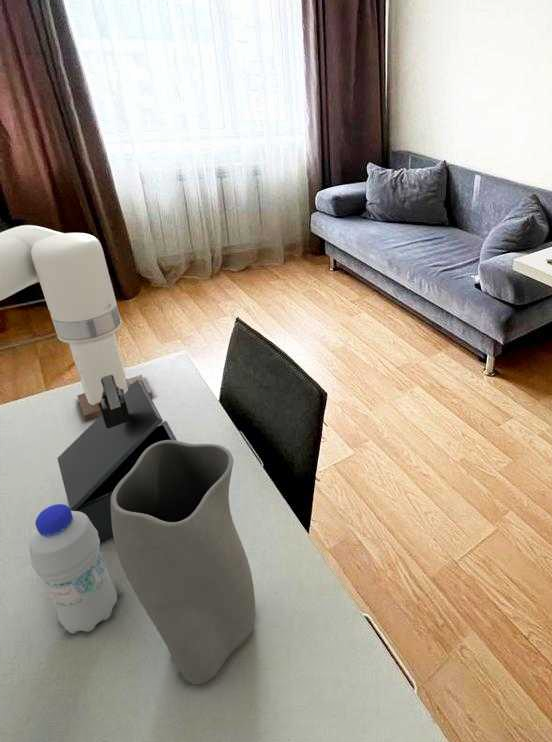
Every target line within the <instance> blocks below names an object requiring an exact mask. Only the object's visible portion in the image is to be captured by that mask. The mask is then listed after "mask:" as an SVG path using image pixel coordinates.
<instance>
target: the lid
mask: <svg viewBox="0 0 552 742" xmlns="http://www.w3.org/2000/svg"><path fill="white" fill-rule="evenodd" d="M122 395H123V397H124V399H125V402H126V405H127V409H128V412H129V416H130V420H129V421H128V422H125V423H122V424H120V425H117V426H114V427H112V428H106V425H105V422H104V419H103V416H102V415H101V416H100V417H97V418H96V419H95V420H94V422H92V423H91V424H90V425H89V426H88V427H87V428H86V429H85V430H84V431H83V432H82V433H81V434H80V435H79V436H78V437H77V438H76V439H75V440H74V441H73V442H72V443H70V445H69V446H68V447H67V448H65V450H64V451H63V452H62V453H61V454H60V455H59V456H58V457H57V458H56V460H57V463H58V468H59V471H60V475H61V479H62V482H63V486H64V490H65V491H64V492H65V495H66V499H67V503H68V507H69V508H70V510H71V511H76V510H77V508H78V507H79V506H80V505H81V504H82V503H83V502H84V501H85V500H86V499H87V498H88V497H89V496H90V495H91V494H92V493H93V492H94V491H95V490H96V489H97V488H98V487H99V486H100V485H101V484H102V483H103V482H104V481H105V480H106V479H107V478H108V477H109V476H110V475H111V474H112V473H113V471H114V470H115V469H116V468H117V467H118V466H119V465H120V464H121V463H122V462H123V461H124V460H125V459H126V458H127V457H128V456H129V455H130V454H131V453H132V452H133V451H134V450H135V449H136V448H137V447H138V446H139V445H140V444H141V443H142V442H143V441H144V440H145V439H146V438H147V437H148V436H149V434H150V433H151V432H152V431H153V430H154V429H155V428H156V427H157V426H158V425H159V424H160V423H161V422H164V420H163V418H162V416H161V414H160V412H159V410H158V408H157V407H156V405H155V403H154V401H153V398H151V397H150V395H149V393H148V391H147V390H146V388H145V386H144V384H143V382H142V381H141V380H140V379H137V380H136V381H135V382H134V383H133V384H132V385H131V386H130V387H129V388H128V391H127V392H126V394H124V393H123V394H122Z"/></svg>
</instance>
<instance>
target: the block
mask: <svg viewBox="0 0 552 742" xmlns="http://www.w3.org/2000/svg"><path fill="white" fill-rule="evenodd" d="M137 379H140V380H141V381H142V382H143V384H144V386H145V388H146V390H147V391H148V393H149V395H150V397H151V399H153V394H152V391H151V389H150V387H149V385H148V383H147V382H146V380H145V378H144V376H143V375H142V374H140V375H136V376H133V377H130V378H126V383H127V388H129V387H130V386H131V385H132V384H133V383H134V382H135V381H136V380H137ZM122 394H123V393H122ZM76 396H77V399H78V403H79V406H80V408H81V412H82V415H83V418H84V420H85V422H88V421H90V420H94V419H98V418H99V417H100V416H101V415H102V413H101V410H100V406H99V403H101V402H99V403H96V404H95V405H92V404H90V403H89V402H88V400H87V397H86V395H85V392H83V393H81V394H77V395H76Z"/></svg>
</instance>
